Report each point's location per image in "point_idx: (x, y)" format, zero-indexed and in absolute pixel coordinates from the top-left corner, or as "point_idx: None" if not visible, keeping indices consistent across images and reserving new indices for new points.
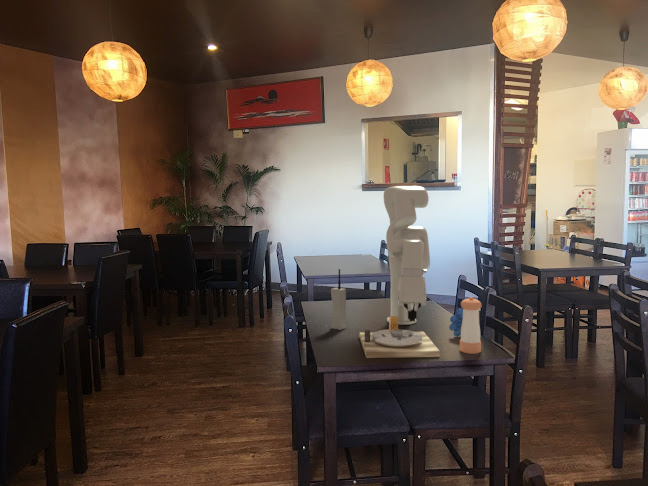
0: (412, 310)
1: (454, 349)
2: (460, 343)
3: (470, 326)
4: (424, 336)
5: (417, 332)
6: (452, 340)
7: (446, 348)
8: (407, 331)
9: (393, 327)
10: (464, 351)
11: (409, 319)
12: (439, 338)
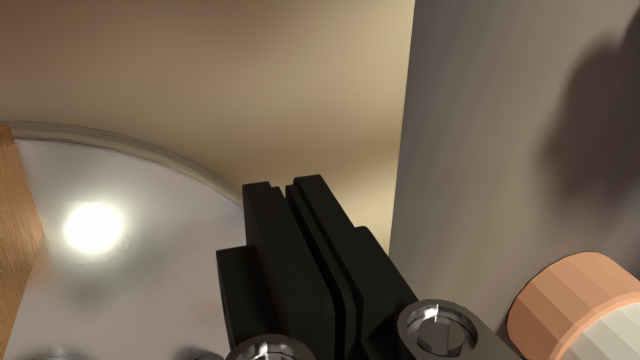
0: (353, 349)
1: (489, 299)
2: (538, 356)
3: None
4: (365, 176)
5: (330, 17)
6: (582, 98)
7: (451, 289)
8: (184, 237)
9: None
10: (517, 347)
11: (245, 202)
12: (514, 37)
